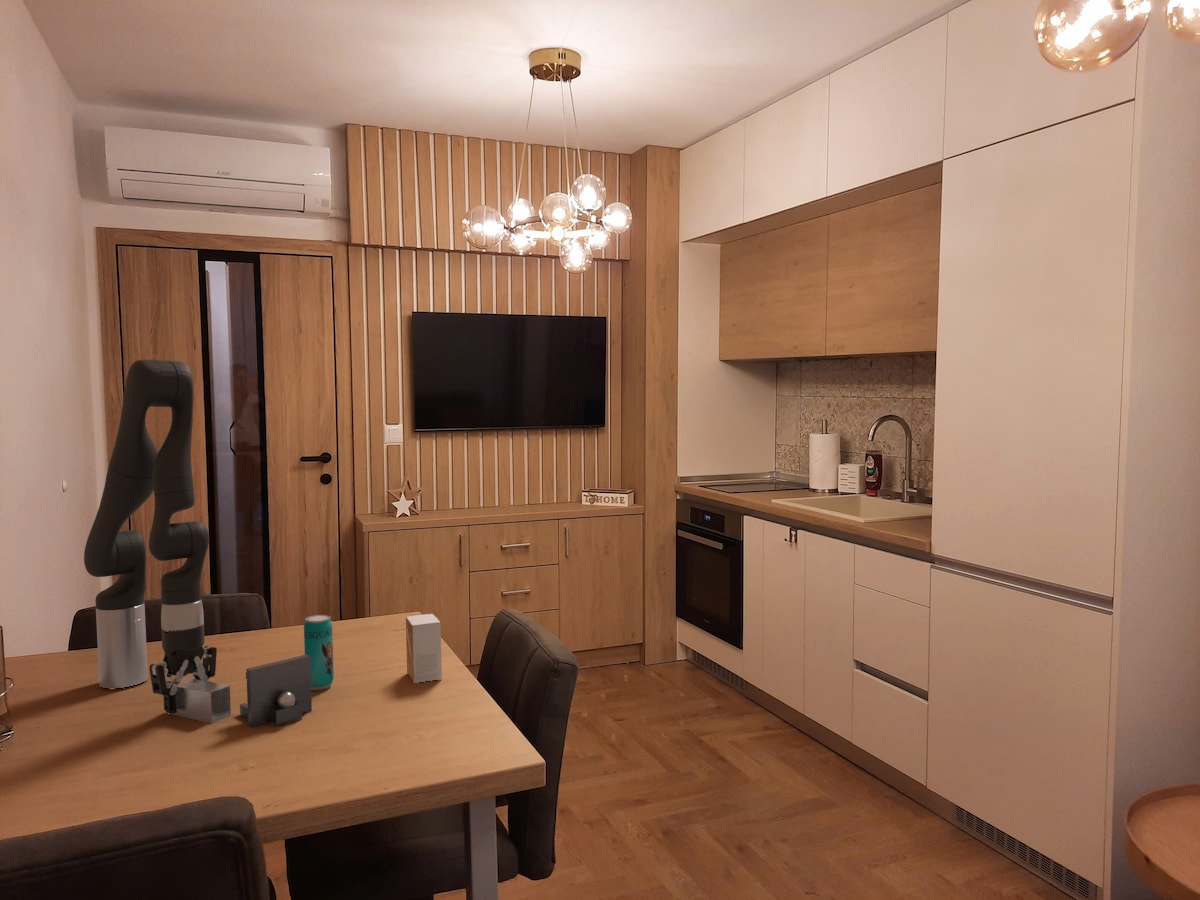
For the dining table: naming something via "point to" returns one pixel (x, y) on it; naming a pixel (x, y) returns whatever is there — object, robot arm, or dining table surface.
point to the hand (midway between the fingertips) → (186, 706)
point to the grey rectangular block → (202, 700)
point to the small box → (423, 648)
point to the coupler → (278, 692)
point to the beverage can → (319, 650)
